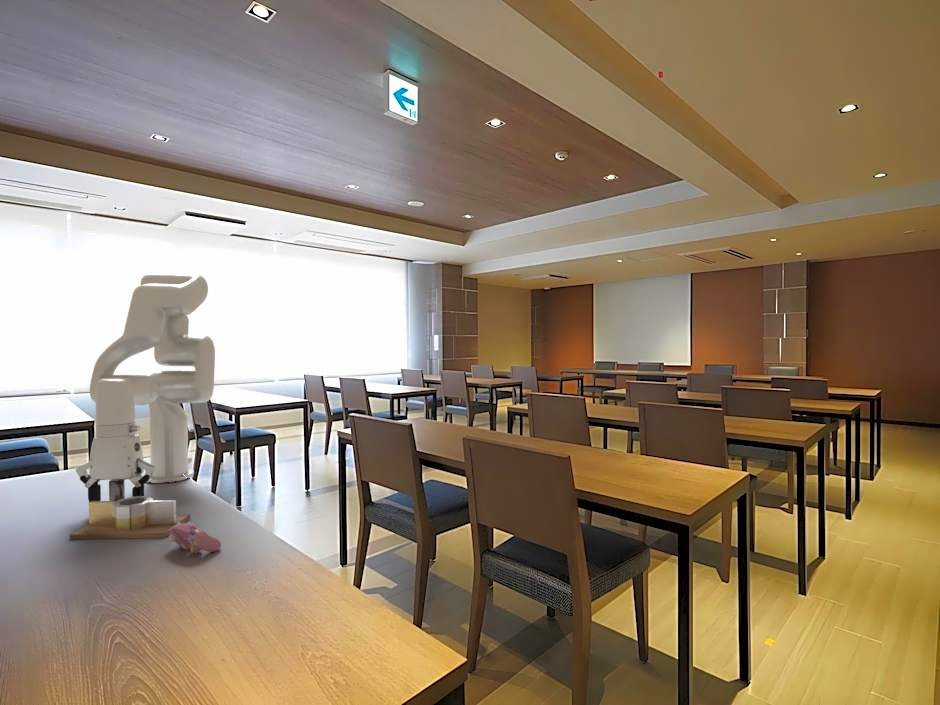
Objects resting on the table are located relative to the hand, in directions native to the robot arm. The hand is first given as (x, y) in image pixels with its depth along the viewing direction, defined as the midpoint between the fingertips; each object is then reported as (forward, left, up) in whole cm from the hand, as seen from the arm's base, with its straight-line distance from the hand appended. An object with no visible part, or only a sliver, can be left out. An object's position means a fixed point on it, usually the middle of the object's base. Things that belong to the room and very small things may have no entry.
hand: (116, 502), depth 119 cm
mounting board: (+9, +9, -3) cm, 13 cm away
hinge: (+9, +9, -3) cm, 13 cm away
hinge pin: (0, 0, -3) cm, 3 cm away
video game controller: (+21, +27, -3) cm, 35 cm away
